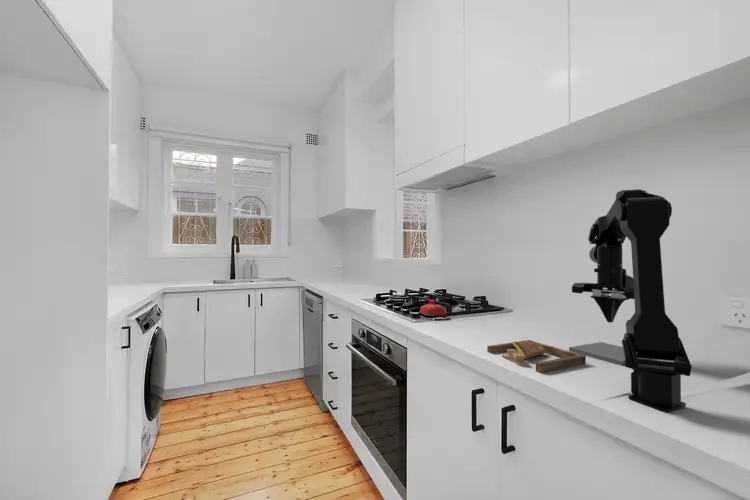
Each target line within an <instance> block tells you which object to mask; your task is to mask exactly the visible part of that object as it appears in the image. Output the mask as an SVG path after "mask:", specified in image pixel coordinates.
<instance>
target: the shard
mask: <svg viewBox="0 0 750 500" xmlns="http://www.w3.org/2000/svg"><path fill="white" fill-rule="evenodd" d="M512 342H513V346H514V347H515V348H516V349H517V351H518V352H520V353H521V354H522V355H524V360H526V359H529V358H533V357H535V356H538V355H544V354H546V353H545V352H546V350H545V349H544V348H542V347H541V346H539V345H537V344H534V343H531V342H529V341H526V340H520V341H519V340H518V341H512Z"/></svg>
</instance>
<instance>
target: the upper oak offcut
mask: <svg viewBox="0 0 750 500" xmlns="http://www.w3.org/2000/svg"><path fill="white" fill-rule="evenodd" d="M506 354H507V355H508V356H509V357H511V358H512V359H513V360H514V361H516V362H524V360H525V358H524V355H522V354H521V353H520V352H518V350H515V349H507V351H506Z"/></svg>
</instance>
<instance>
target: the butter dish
mask: <svg viewBox="0 0 750 500" xmlns="http://www.w3.org/2000/svg"><path fill="white" fill-rule="evenodd" d="M428 301H429V303H427V304H423V305H422V306H420V309H419V313H421V312H422V313H425V314H428V315H445V314H446V316H444V317H443V318H446V317H447V313H446V312H447V311H446V308H445V307H444V306H443V305H442V304H441V305H440V304H437V303H436V300H435V299H430V300H428ZM450 319H451V317H449V318H446V320H450ZM441 320H442V321H443V320H445V319H438V320H437V321H441ZM446 320H445V321H446Z"/></svg>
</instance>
